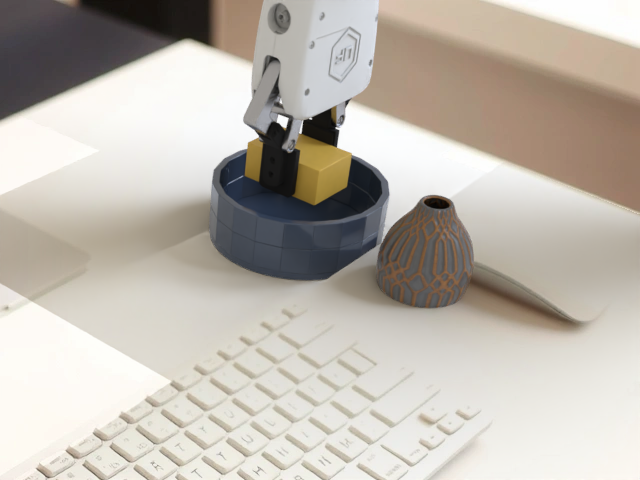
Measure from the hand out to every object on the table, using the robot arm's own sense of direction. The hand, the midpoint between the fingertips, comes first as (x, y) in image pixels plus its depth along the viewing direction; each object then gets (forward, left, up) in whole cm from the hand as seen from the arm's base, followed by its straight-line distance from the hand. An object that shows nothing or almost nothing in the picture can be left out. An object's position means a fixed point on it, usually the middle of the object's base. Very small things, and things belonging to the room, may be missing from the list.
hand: (296, 177), depth 87 cm
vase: (+2, +13, -5) cm, 14 cm away
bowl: (0, 0, -5) cm, 5 cm away
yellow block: (0, 0, 0) cm, 0 cm away
